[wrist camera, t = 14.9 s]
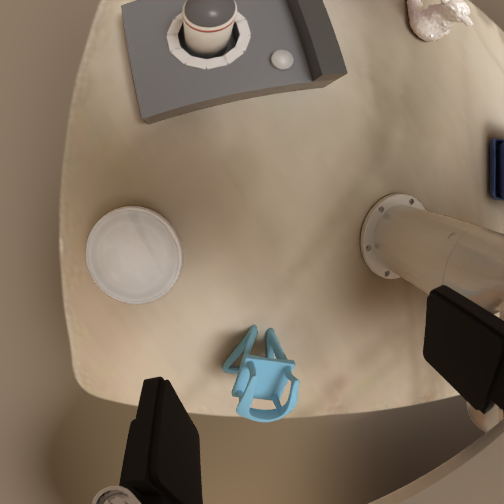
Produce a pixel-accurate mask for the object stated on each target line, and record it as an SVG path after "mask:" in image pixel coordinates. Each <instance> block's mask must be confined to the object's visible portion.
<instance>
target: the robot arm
mask: <svg viewBox="0 0 504 504" xmlns="http://www.w3.org/2000/svg"><path fill="white" fill-rule="evenodd" d="M360 244H361V252H362V256H363V259H364V261H365V263H366V265H367V266H368V267H369V269H370V270H371V271H373V272H374V273H375V274H377V275H378V276H380V277H382V278H385V279H397V278H401V277H402V278H403V279H405V280H406V281H408V282H409V283H411V284H413V285H414V286H416V287H417V288H419V289H420V290H422V291H423V292H425V293H426V294H428V295H429V296H428V298H427V311H426V326H425V337H424V347H423V356H424V358H425V360H426V361H427V362H428V363H429V364H430V365H431V366H432V367H433V368H434V369H435V370H436V371H437V372H438V373H439V374H440V375H441V376H442V377H443V378H444V379H445V380H446V381H447V382H448V383H449V384H450V385H451V386H452V387H453V388H454V389H455V390H456V391H457V392H458V393H459V394H460V395H461V396H462V397H463V398H464V399H465V400H466V401H467V408H468V412H469V415H470V417H471V419H472V420H473V422H474V423H475V424H476V425H477V426H478V427H479V428H480V429H482V430H483V431H485V432H486V433H485V434H484V435H483V436H482V437H480V438H479V439H478V440H476V441H475V442H474V443H472V444H471V445H470V446H468V447H467V448H466V449H464V450H463V451H461V452H460V453H459V454H457V455H456V456H454V457H453V458H451V459H450V460H448V461H447V462H445V463H444V464H442V465H441V466H439V467H437V468H436V469H434V470H433V471H431V472H429V473H428V474H426V475H424V476H422V477H421V478H419V479H417V480H416V481H414V482H412V483H410V484H408V485H406V486H405V487H402V488H400V489H399V490H397V491H395V492H393V493H391V494H388V495H386V496H384V497H382V498H380V499H378V500H375V501H373V502H371V503H369V504H504V234H502V233H498V232H495V231H492V230H489V229H486V228H483V227H479V226H476V225H473V224H470V223H467V222H464V221H460V220H457V219H454V218H450V217H447V216H445V215H440V214H436V213H433V212H429V211H426V209H425V208H424V206H423V205H422V203H421V202H420V201H419V200H417V199H416V198H415V197H413V196H410V195H407V194H403V193H395V194H391V195H388V196H386V197H384V198H382V199H381V200H379V201H378V202H377V203H376V204H375V205H374V206H373V207H372V208H371V210H370V211H369V213H368V215H367V216H366V219H365V221H364V224H363V227H362V231H361V239H360ZM498 312H500V317H499V318H498V317H497V316H495V315H494V314H496V313H498ZM199 443H200V441H199V434H198V431H197V429H196V427H195V425H194V424H193V422H192V420H191V419H190V417H189V415H188V413H187V412H186V410H185V408H184V406H183V405H182V403H181V401H180V399H179V398H178V396H177V394H176V392H175V390H174V388H173V387H172V385H171V383H170V381H169V380H164V379H163V378H162V377H156V378H150V379H145V380H144V382H143V387H142V391H141V396H140V400H139V405H138V410H137V415H136V419H134V420H133V421H132V422H131V425H130V429H129V434H128V439H127V444H126V450H125V455H124V460H123V466H122V472H121V478H120V484H119V486H109V487H106V488H104V489H102V490H101V491H100V492H98V493H97V495H96V496H95V497H94V499H93V502H92V504H203V500H202V485H201V466H200V444H199Z"/></svg>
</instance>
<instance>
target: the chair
mask: <svg viewBox="0 0 504 504" xmlns="http://www.w3.org/2000/svg"><path fill="white" fill-rule="evenodd" d="M257 333H258V331H257V327H256V326H255V325H253V326H251V327H250V329H249V331H248V332H247V334H246V335H245V337H244V338H243V339H242V341H241V342H240V343H239V345H238V346H237V347H236V348H235V350H234V351H233V352H232V353H231V355H230V356H229V357H228V359H227V360H226V361H225V363H224V364H223V371H224V372H228V373H234V374H238V375H237V379H236V381H235V384H234V387H233V389H232V396H235V397H239V404H238V406H237V408H236V412H237V413H238V414H239V415H241V416H243V417H245V418H248V419H251V420H254V421H258V422H271V421H275V420H278V419H281V418H283V417H284V416H285V415H287V414H288V413H289V412H291V411H292V410H293V409H294V408H295V406H296V403H297V397H298V387H299V380H298V379H297V378H295V377H294V376H293V375H292V371H293V369H294V366H295V362H294V360H288V359H287V358H286V356H285V354H284V352H283V350H282V348H281V346H280V344H279V342H278V340H277V337H276V335H275V333H274V330H273V329H272V328H270V329H268V331H267V336H266V345H267V358H265V357H260V356H256V355H250V352H251V350H252V347H253V344H254V341H255V339H256V336H257ZM244 350H245V351H244ZM243 351H244V354H243V357H242V360H241V364H240V368H235V367H230V366H231V365H232V364H233V362H234V361H235V360H236V359H237V358H238V357H239V356H240V355H241V353H242V352H243ZM274 353H275V356H276V358H277V359H274ZM288 379H289V380H291V381H292V382H291V389H290V394H289V398H288V401H287V402H286V404H285V405H284V406H282V407H281V404H280V401H279V399H280V397H281V395H282V393H283V390H284V388H285V386H286V383H287V381H288ZM253 398H257V399H265V400H273V402H274V404H275V406H276V408H277V409H273V410H259V409H253V408H250V406H251V404H252V400H253Z"/></svg>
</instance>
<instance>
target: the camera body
mask: <svg viewBox="0 0 504 504" xmlns="http://www.w3.org/2000/svg"><path fill="white" fill-rule="evenodd" d="M186 1H187V0H136V1H133V2H130V3H127V4H124V5H122V6H121V8H122V15H123V22H124V29H125V35H126V41H127V47H128V53H129V59H130V64H131V70H132V75H133V80H134V85H135V90H136V95H137V99H138V104H139V109H140V113H141V118H142V120H144V121H145V122H147V123H148V124H151V123H154V122H157V121H160V120H164V119H167V118H170V117H174V116H177V115H181V114H184V113H188V112H192V111H195V110H199V109H203V108H207V107H211V106H215V105H220V104H224V103H229V102H233V101H238V100H243V99H248V98H253V97H259V96H264V95H270V94H276V93H283V92H289V91H297V90H305V89H313V88H322V87H325V86H327V85H328V84H330V83H332V82H333V81H335V80H337V79H339V78H340V77H342V76H344V75H345V74H347V70H346V67H345V63H344V60H343V57H342V54H341V51H340V47H339V44H338V41H337V39H336V36H335V33H334V30H333V27H332V24H331V22H330V19H329V16H328V14H327V11H326V8H325V6H324V3H323V1H322V0H234V1H235V2H236V5H237V14H236V18H235V21H234V25H233V28H232V32H231V36H230V40H229V44H228V48H227V51H226V52H225V54H224V55H223V56H221V57H216V58H211V59H203V58H198V57H193V56H191V55H189V54H188V53H187V51H186V46H185V35H184V24H183V14H182V11H183V6H184V4H185V2H186Z"/></svg>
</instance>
